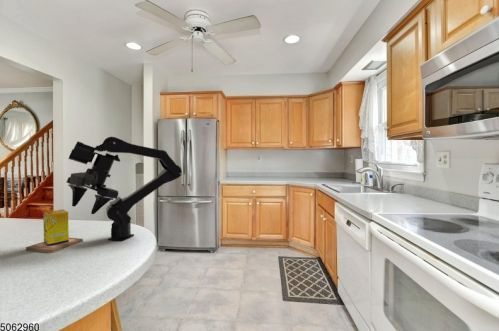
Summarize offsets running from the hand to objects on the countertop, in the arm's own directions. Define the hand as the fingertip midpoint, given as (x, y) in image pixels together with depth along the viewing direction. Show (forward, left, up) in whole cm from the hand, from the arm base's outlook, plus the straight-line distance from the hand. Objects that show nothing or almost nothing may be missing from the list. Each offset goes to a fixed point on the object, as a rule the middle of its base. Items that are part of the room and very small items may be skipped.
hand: (82, 210), depth 84 cm
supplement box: (+3, -8, -11) cm, 14 cm away
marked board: (+3, -8, -12) cm, 15 cm away
